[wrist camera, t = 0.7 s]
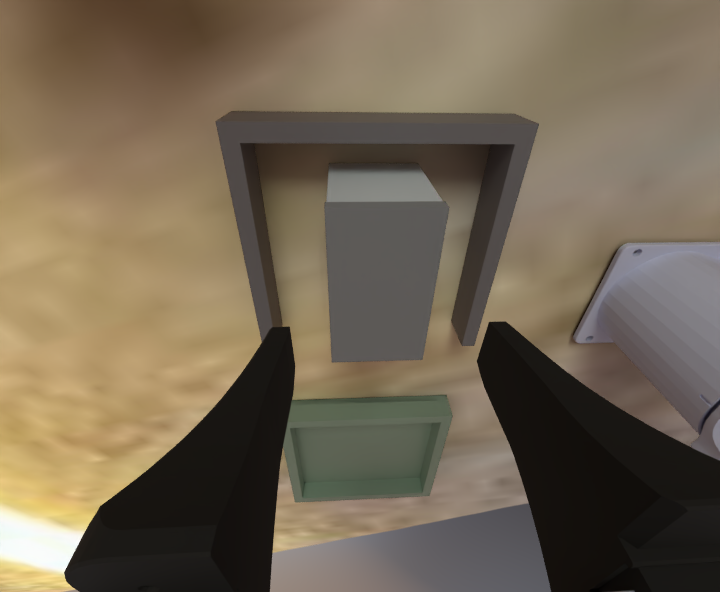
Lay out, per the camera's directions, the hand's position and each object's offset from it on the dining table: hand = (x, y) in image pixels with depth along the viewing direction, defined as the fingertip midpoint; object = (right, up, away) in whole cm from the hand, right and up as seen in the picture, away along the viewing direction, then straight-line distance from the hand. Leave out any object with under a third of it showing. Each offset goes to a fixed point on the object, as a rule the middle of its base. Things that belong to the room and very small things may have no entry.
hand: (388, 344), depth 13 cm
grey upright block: (0, +5, +7) cm, 9 cm away
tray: (-1, -12, +20) cm, 23 cm away
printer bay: (0, +5, +7) cm, 9 cm away
